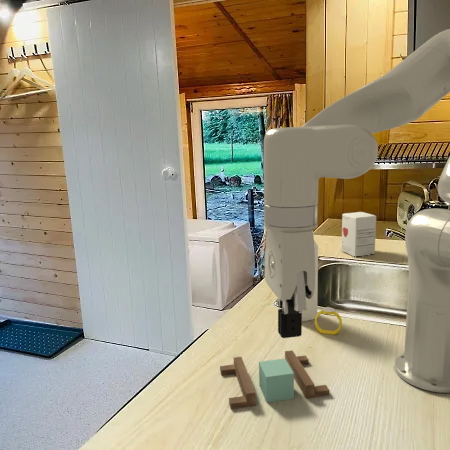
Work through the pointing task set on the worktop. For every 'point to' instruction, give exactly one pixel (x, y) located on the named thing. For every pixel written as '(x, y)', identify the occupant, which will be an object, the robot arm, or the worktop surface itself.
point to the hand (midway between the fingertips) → (289, 334)
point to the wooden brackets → (248, 389)
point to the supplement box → (358, 233)
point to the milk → (312, 303)
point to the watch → (329, 312)
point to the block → (276, 380)
